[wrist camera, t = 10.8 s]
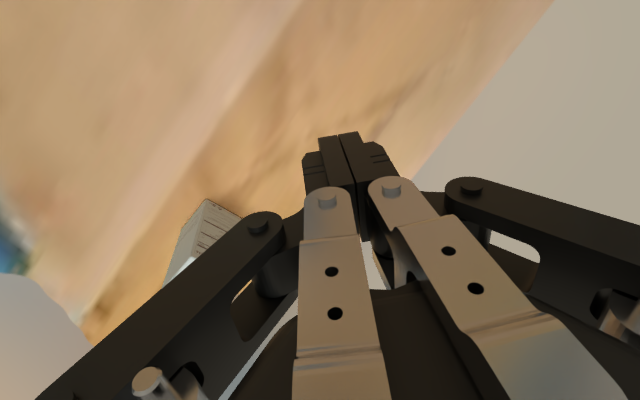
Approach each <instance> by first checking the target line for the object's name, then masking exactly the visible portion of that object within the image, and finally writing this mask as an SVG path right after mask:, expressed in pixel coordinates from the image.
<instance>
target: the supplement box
mask: <svg viewBox="0 0 640 400" xmlns="http://www.w3.org/2000/svg"><path fill="white" fill-rule="evenodd" d="M240 220H242V218H240V217H238V216H236V215H235V214H233V213H231V212H229V211H227V210H226V209H224V208H222V207H220V206H219V205H217V204H215V203H213V202H211V201H210V200H208V199H205V201H204V202H203V203H202V204H201V205H200V207H199V208H198V209H197V210H196V212H195V213H194V214H193V215H192V217H191V218H190V219H189V220H188V222H187V223H186V224H185V225H184V227H183V228H182V229H181V232H180V235H179V238H178V241H177V244H176V247H175V250H174V253H173V256H172V259H171V262H170V265H169V268H168V271H167V274H166V277H165V280H164V283H163V286H162V288H163V287H164V286H165V285H166V284H168V283H169V282H170V281H171V280H172V279H173V278H175V277H176V276H177V275H178V274H179V273H180V272H181V271H183V270H184V269H185V268H186V267H187V266H188V265H190V264H191V263H192V262H193V261H194V260H195V259H196V258H198V257H199V256H200V255H201V254H202V253H203V252H205V251H206V250H207V249H208V248H209V247H210V246H211V245H213V244H214V243H215V242H216V241H217V240H218V239H220V238H221V237H222V236H223V235H224V234H225V233H226V232H228V231H229V230H230V229H231V228H232V227H233V226H235V225H236V224H237V223H238V222H239V221H240Z"/></svg>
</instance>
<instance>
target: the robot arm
mask: <svg viewBox="0 0 640 400" xmlns="http://www.w3.org/2000/svg"><path fill="white" fill-rule="evenodd" d="M318 144H319V151H316V152H310V153H306V154H305V156H304V158H303V159H302V168H303V175H304V183H305V190H306V198H305V200H304V207H303V208H302V209H301V210H300V211H299V212H298V213H296V214H294V215H292V216H290V217H288V218H285V219H283V220H282V218H281V217H280V216H279V215H278V214H276V213H274V212H268V211H263V212H257V213H253V214H250V215H248V216H246V217H245V218H243V219H242V220H240V221H239V222H238V223H237V224H236V225H235V226H233V227H232V228H231V229H230V230H229V231H228V232H226V233H225V234H224V235H223V236H222V237H221V238H220V239H218V240H217V241H216V242H215V243H214V244H213V245H211V246H210V247H209V248H208V249H207V250H206V251H205V252H203V253H202V254H201V255H200V256H199V257H198V258H196V259H195V260H194V261H193V262H192V263H191V264H190V265H188V266H187V267H186V268H185V269H184V270H183V271H181V272H180V273H179V274H178V275H177V276H176V277H175V278H173V279H172V280H171V281H170V282H169V283H168V284H166V285H165V286H164V287H163V288H162V289H161V290H160V291H158V292H157V293H156V294H155V295H154V296H153V297H151V298H150V299H149V300H148V301H147V302H146V303H145V304H143V305H142V306H141V307H140V308H139V309H138V310H136V311H135V312H134V313H133V314H132V315H131V316H130V317H128V318H127V319H126V320H125V321H124V322H123V323H121V324H120V325H119V326H118V327H117V328H116V329H115V330H113V331H112V332H111V333H110V334H109V335H108V336H106V337H105V338H104V339H103V340H102V341H101V342H100V343H98V344H97V345H96V346H95V347H94V348H93V349H91V350H90V351H89V352H88V353H87V354H86V355H85V356H83V357H82V358H81V359H80V360H79V361H78V362H76V363H75V364H74V365H73V366H72V367H71V368H70V369H69V370H67V371H66V372H65V373H64V374H63V375H61V376H60V377H59V378H58V379H57V380H56V381H55V382H53V383H52V384H51V385H50V386H49V387H48V388H47V389H46V390H44V391H43V392H42V393H41V394H40V395H39V396H38V397H37V398H36V399H35V400H218V399H219V397H220V396H221V395H222V394H223V392H224V391H225V390H226V388H227V387H228V386H229V385H230V383H231V382H232V381H233V379H234V378H235V377H236V376H237V374H238V373H239V372H240V370H241V369H242V368H243V367H244V365H245V364H246V363H247V361H248V360H249V359H250V358H251V356H252V355H253V354H254V352H255V351H256V350H257V349H258V347H259V346H260V345H261V344H262V342H263V341H264V340H265V338H266V337H267V336H268V334H269V333H270V332H271V330H272V329H273V328H274V327H275V326H276V324H277V323H278V321H279V320H280V319H281V318H282V317H283V315H284V314H285V312H286V311H287V310H288V308H290V306H291V305H292V304H293V302H294V301H295V300H296V298H297V297H298V315H296V316H295V317H293V318H292V319H291V320H289V321H288V322H287V323H286V324H285V325H283V326H282V327H281V328H280V329H279V330H278V332H277V333H276V334H275V335H274V336H273V337H272V339H271V340H270V341H269V343H268V344H267V346H266V347H265V348H264V350H263V351H262V353H261V354H260V355H259V357H258V358H257V359H256V361H255V362H254V364H253V365H252V367H251V368H250V369H249V371H248V372H247V373H246V375H245V376H244V378H243V379H242V380H241V382H240V383H239V385H238V386H237V387H236V389H235V390H234V392H233V393H232V394H231V396H230V397H229V399H228V400H640V225H637V224H633V223H630V222H627V221H623V220H620V219H617V218H613V217H610V216H606V215H603V214H600V213H596V212H593V211H589V210H586V209H583V208H579V207H576V206H573V205H569V204H566V203H563V202H559V201H556V200H553V199H549V198H546V197H542V196H539V195H535V194H532V193H529V192H525V191H522V190H519V189H515V188H512V187H509V186H505V185H502V184H499V183H495V182H492V181H488V180H485V179H482V178H477V177H460V178H456V179H453V180H451V181H450V182H448V183H447V184H446V186H445V192H424V191H419V190H418V188H417V187H416V186H415V185H414V183H412V181H410V180H409V179H407V178H404V177H400V175H399V174H398V172H397V170H396V169H395V167H394V165H393V164H392V162H391V161H390V158H389V157H388V155H387V153H386V152H385V150H384V148H383V147H382V146H381V145H379V144H377V143H375V142H374V141H373V142H367V143H363V141H362V139H361V137H360V135H359V133H358V131H356V132H350V133H344V134H338V136H337V135H333V136H327V137H321V138H318ZM492 230H493V231H495V232H498V233H500V234H503V235H506V236H508V237H511V238H513V239H516V240H519V241H521V242H524V243H527V244H529V245H531V246H532V247H533V248H535V249H536V250H537V251H538V253H539V255H540V263H536V262H533V261H531V260H528V259H526V258H524V257H521V256H519V255H516V254H514V253H511V252H509V251H507V250H504V249H502V248H499V247H497V246H495V245H492V244H490V243H489V242H490V236H491V231H492ZM359 234H360V236H359ZM360 237H361V240H362V242H366V241H371V244H372V254H373V260H374V262H375V265H376V267H377V269H378V271H379V273H380V276H381V278H382V280H383V282H384V285H385V287H386V289H387V290H374V289H369V286H368V280H367V275H366V270H365V265H364V259H363V254H362V249H361V243H360ZM250 280H252V282H251V283H250V284H249V285H248V286H247V287H246V288H245V289H244V291H243V292H242V293H241V294H240V295H239V296H238V297H237V298H236V299H235V300H234V301H233V303H232V300H233V299H234V297H235V296H236V295H237V294H238V292H239V291H240V290H241V289H242V288H243V287H244V286H245V285H246V284H247V283H248V282H249V281H250Z"/></svg>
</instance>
